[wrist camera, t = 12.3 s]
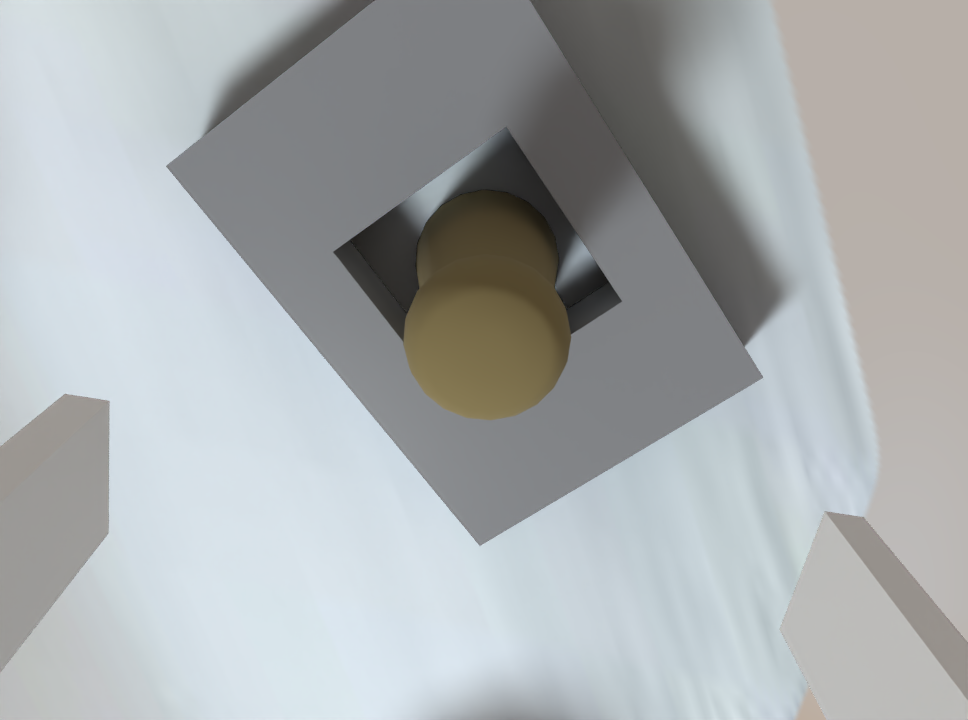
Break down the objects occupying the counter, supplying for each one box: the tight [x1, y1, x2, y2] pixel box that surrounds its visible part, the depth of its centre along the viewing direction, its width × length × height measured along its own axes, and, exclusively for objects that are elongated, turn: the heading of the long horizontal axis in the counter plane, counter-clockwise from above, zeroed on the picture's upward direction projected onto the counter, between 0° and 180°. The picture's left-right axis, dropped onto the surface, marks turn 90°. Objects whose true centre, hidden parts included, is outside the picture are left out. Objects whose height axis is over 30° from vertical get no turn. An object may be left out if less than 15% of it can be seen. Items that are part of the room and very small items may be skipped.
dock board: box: [166, 0, 763, 545], centre depth 32 cm, size 20×14×3 cm
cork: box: [403, 190, 571, 420], centre depth 28 cm, size 6×6×11 cm
